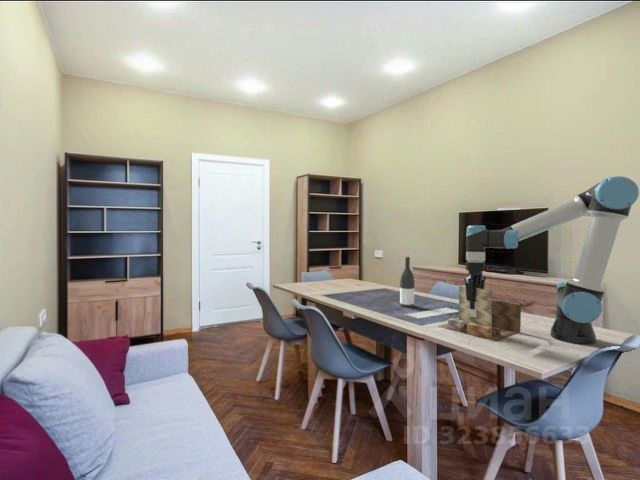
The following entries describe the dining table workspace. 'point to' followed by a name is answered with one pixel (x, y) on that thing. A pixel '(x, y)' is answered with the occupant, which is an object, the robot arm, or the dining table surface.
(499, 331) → the walnut rack
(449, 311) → the baseboard molding
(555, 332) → the robot arm
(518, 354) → the dining table surface
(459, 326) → the grey mdf offcut
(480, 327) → the cherry offcut
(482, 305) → the birch sheet
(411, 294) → the wine bottle
